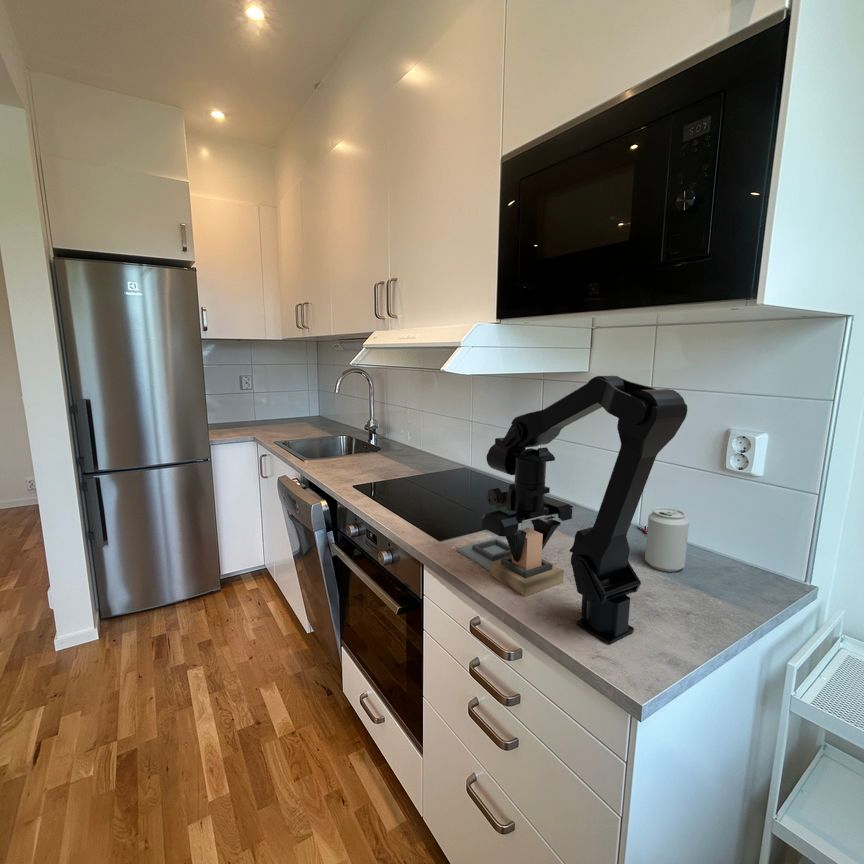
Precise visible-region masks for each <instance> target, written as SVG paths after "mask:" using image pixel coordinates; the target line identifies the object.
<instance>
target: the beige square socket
mask: <svg viewBox="0 0 864 864" xmlns="http://www.w3.org/2000/svg"><path fill="white" fill-rule="evenodd" d="M564 573H565V572H564V570H563V569H561V568H559V567H558V566H555V565H553V563H551V562H548V561H546V560H544V559H543V558H542V561H541V566H539V567H536V568H533V569H530V570H527V571H526V570H524V569H522V568H520V567H519V566H517V565H515V564H513V563H512V556H511V557H507V558H504V559H501V560H499V561H495V562H492V563H490V571H489V575H490V576H491V577H492V578H495V579H496V580H497V581H499V582H501V583H502V584H504V585H505V586H507V587H509V588H510V589H512V590H514V591H515V592H516V593H518V594H519V595H522V596H523V597H528V596H531V595H534V594H536V593H539V592H542V591H545V590H547V589H550V588H553V587H554V586H558V585H561V584H563V583H564V576H565V575H564Z"/></svg>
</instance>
